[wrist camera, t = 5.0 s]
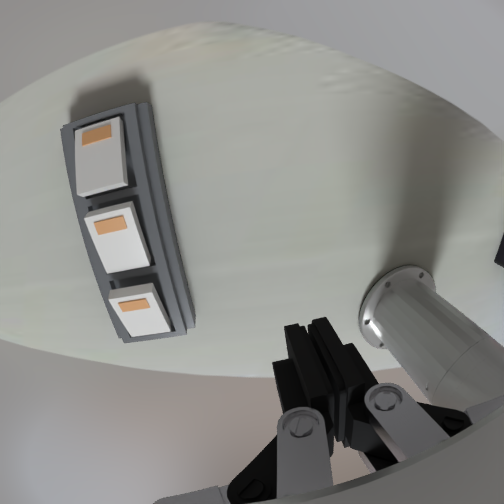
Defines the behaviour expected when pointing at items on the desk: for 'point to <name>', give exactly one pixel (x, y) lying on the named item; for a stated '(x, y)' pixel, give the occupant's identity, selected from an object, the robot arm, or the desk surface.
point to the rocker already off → (140, 310)
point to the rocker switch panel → (149, 215)
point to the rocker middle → (118, 237)
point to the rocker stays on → (100, 157)
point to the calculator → (500, 254)
